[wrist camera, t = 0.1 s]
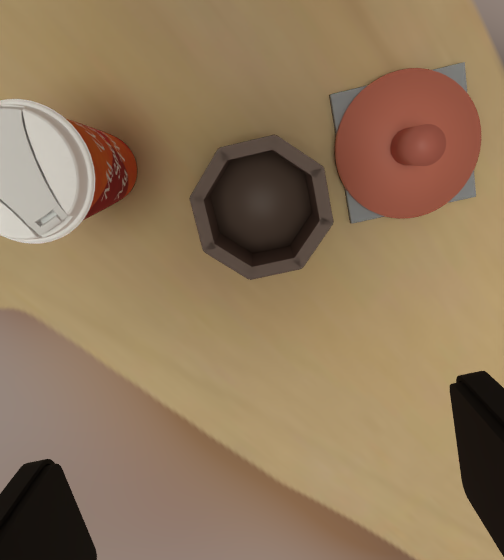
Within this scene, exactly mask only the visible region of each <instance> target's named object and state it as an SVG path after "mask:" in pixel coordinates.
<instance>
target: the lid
mask: <svg viewBox="0 0 504 560" xmlns="http://www.w3.org/2000/svg"><path fill="white" fill-rule="evenodd" d="M480 146H481V126H480V120H479V116H478V113H477V110H476V108H475V105H474V103H473V101H472V100H471V98H470V97H469V95H468V94H467V92H466V91H465V90H464V89H463V88H462V87H461V86H460V85H459V84H458V83H457V82H455V81H454V80H453V79H451V78H449V77H448V76H446V75H444V74H442V73H439V72H436V71H433V70H429V69H421V68H409V69H403V70H398V71H395V72H392V73H389V74H387V75H384V76H382V77H380V78H378V79H377V80H375V81H374V82H372V83H371V84H369V85H368V86H367V87H365V88H364V89H363V90H362V91H361V92H360V93H359V94H358V95H357V96H356V97H355V98H354V99H353V101H352V102H351V103H350V105H349V106H348V108H347V109H346V111H345V113H344V115H343V117H342V119H341V122H340V124H339V127H338V131H337V134H336V141H335V161H336V166H337V171H338V174H339V176H340V179H341V181H342V183H343V185H344V187H345V188H346V190H347V191H348V192H349V194H350V195H351V196H352V197H353V198H354V199H355V200H356V201H357V202H358V203H359V204H361V205H362V206H363V207H365V208H367V209H368V210H370V211H372V212H374V213H377V214H379V215H382V216H386V217H391V218H413V217H418V216H422V215H425V214H428V213H430V212H433V211H435V210H437V209H438V208H440V207H442V206H443V205H445V204H446V203H448V202H449V201H450V200H451V199H452V198H454V197H455V196H456V195H457V194H458V193H459V192H460V190H461V189H462V188H463V187H464V186H465V184H466V183H467V181H468V180H469V178H470V176H471V174H472V172H473V170H474V168H475V166H476V163H477V160H478V157H479V152H480Z"/></svg>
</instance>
